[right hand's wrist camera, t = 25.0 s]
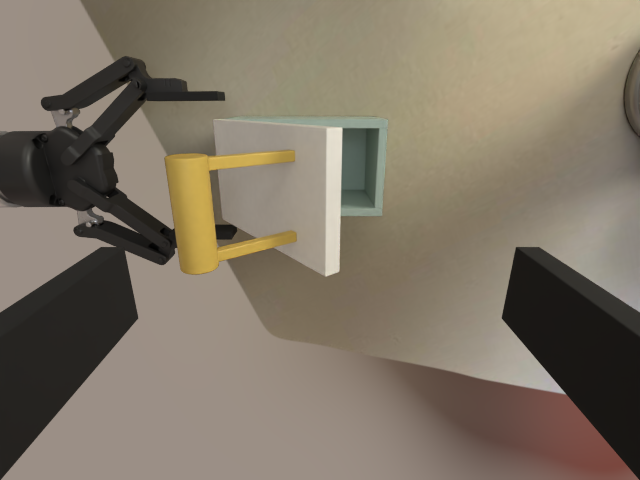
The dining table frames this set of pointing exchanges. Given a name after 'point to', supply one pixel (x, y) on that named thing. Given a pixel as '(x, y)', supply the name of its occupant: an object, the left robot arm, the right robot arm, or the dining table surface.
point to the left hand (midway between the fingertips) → (228, 168)
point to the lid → (261, 194)
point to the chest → (352, 158)
